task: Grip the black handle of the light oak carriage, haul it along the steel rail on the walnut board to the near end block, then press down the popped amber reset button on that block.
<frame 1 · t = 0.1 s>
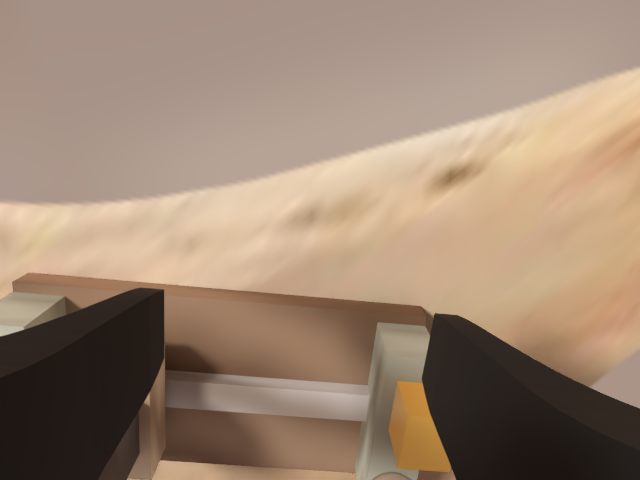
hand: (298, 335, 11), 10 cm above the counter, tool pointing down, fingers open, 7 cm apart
rail board: (225, 373, 23), on the counter
carriage: (93, 440, 18), point 5 cm above the counter, slide at 4.5 cm
reset button: (422, 425, 16), point 7 cm above the counter, slide at 0.0 cm
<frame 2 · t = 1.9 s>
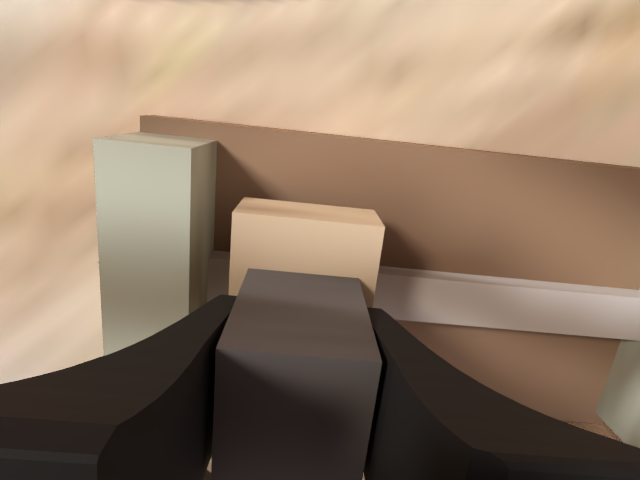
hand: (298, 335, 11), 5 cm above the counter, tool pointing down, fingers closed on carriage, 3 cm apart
rail board: (419, 278, 16), on the counter
carriage: (297, 341, 11), point 5 cm above the counter, slide at 4.5 cm, touching gripper
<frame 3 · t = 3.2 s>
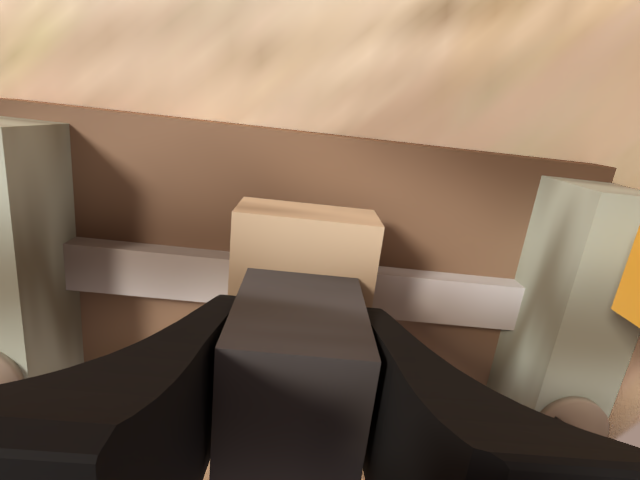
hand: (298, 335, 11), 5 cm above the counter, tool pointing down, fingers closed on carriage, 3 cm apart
rail board: (299, 267, 16), on the counter
carriage: (296, 341, 11), point 5 cm above the counter, slide at -0.1 cm, touching gripper
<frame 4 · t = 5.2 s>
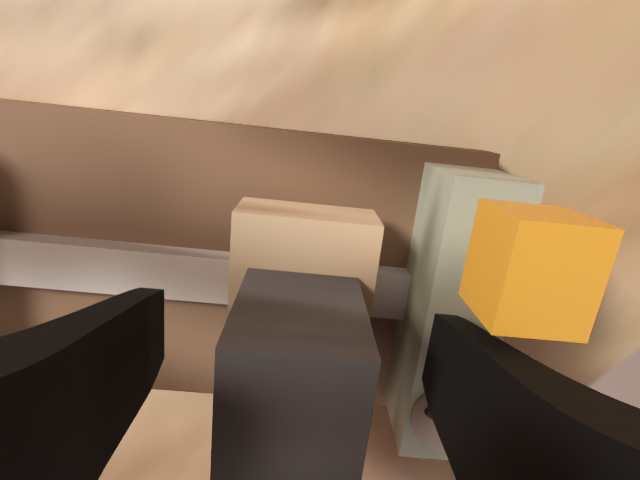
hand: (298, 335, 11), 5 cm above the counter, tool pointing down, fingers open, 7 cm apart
rail board: (196, 257, 16), on the counter
carriage: (297, 340, 11), point 5 cm above the counter, slide at -4.0 cm
reset button: (529, 266, 9), point 7 cm above the counter, slide at 0.0 cm
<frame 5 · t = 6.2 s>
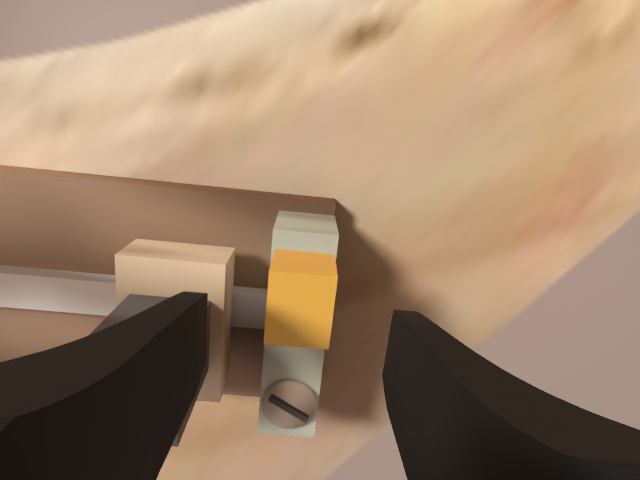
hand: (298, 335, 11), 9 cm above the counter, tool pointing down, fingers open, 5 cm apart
rail board: (115, 280, 20), on the counter
carriage: (161, 346, 15), point 5 cm above the counter, slide at -4.0 cm
reset button: (300, 297, 13), point 6 cm above the counter, slide at 0.0 cm
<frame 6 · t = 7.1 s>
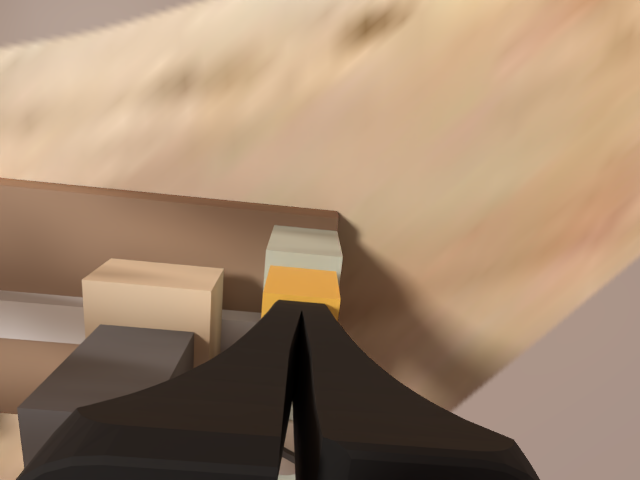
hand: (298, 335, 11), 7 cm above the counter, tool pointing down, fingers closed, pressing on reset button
rail board: (91, 302, 18), on the counter
carriage: (136, 386, 13), point 5 cm above the counter, slide at -4.0 cm
reset button: (298, 319, 12), point 6 cm above the counter, slide at 0.8 cm, touching gripper
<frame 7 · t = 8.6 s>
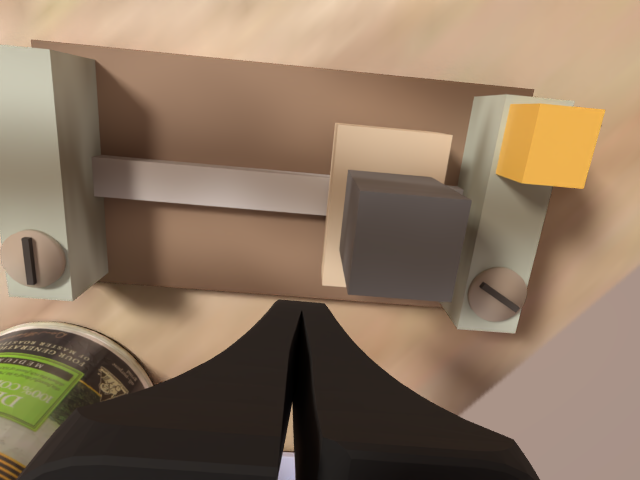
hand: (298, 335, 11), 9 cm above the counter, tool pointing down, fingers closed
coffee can: (66, 402, 23), on the counter
rail board: (283, 184, 19), on the counter
carriage: (388, 221, 14), point 5 cm above the counter, slide at -4.0 cm
reset button: (545, 144, 14), point 5 cm above the counter, slide at 1.3 cm, touching rail board
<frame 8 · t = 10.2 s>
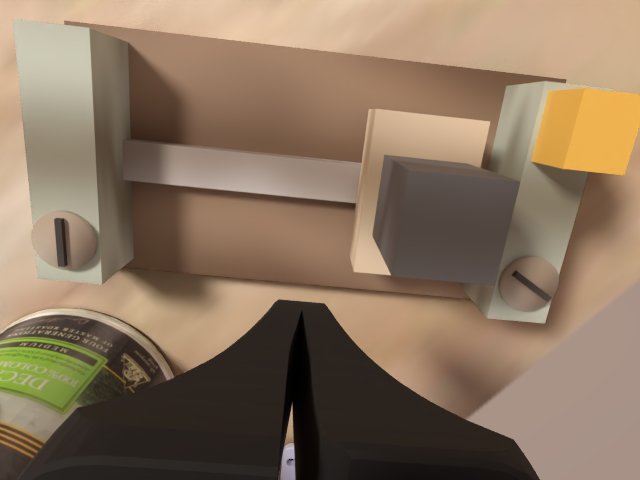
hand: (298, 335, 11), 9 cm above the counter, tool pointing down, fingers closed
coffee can: (84, 390, 23), on the counter
rail board: (310, 172, 19), on the counter
carriage: (425, 206, 14), point 5 cm above the counter, slide at -4.0 cm
reset button: (584, 131, 14), point 5 cm above the counter, slide at 1.3 cm, touching rail board
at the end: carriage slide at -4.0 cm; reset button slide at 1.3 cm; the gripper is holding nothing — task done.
